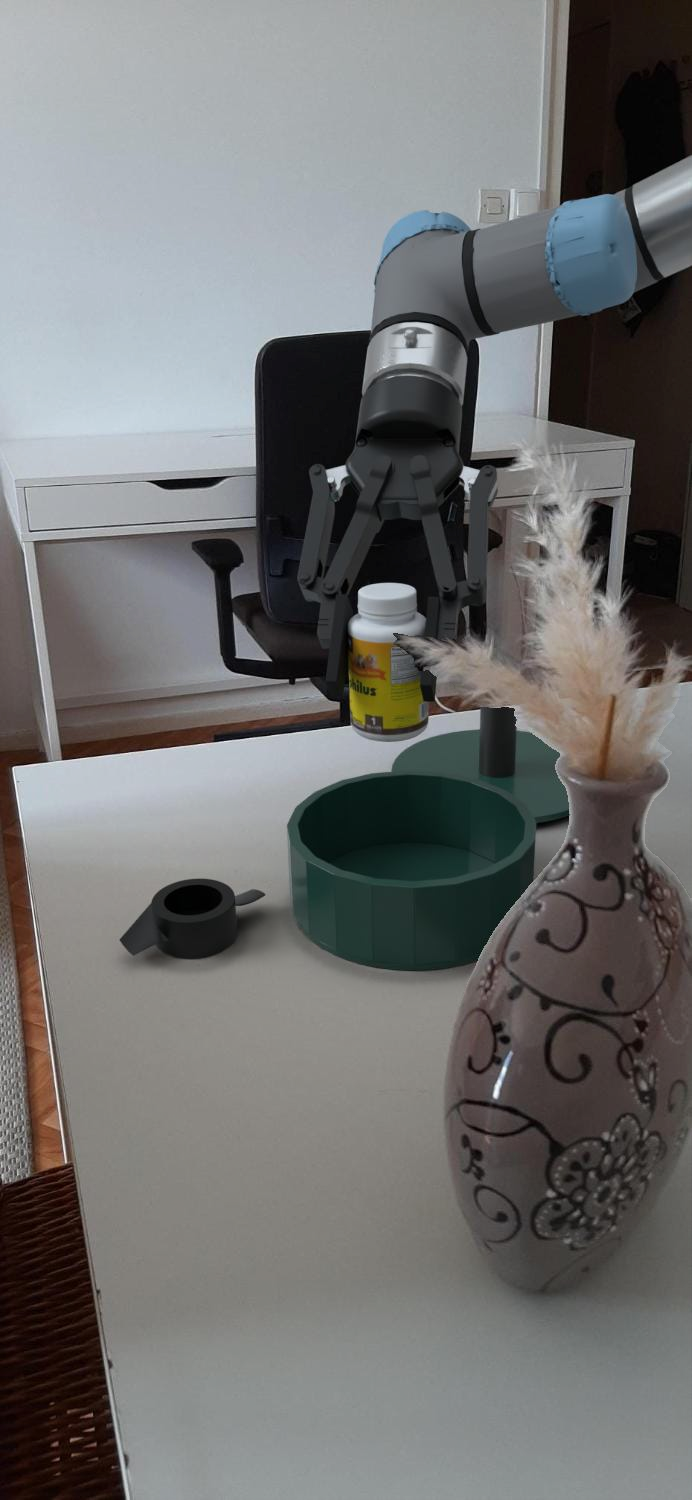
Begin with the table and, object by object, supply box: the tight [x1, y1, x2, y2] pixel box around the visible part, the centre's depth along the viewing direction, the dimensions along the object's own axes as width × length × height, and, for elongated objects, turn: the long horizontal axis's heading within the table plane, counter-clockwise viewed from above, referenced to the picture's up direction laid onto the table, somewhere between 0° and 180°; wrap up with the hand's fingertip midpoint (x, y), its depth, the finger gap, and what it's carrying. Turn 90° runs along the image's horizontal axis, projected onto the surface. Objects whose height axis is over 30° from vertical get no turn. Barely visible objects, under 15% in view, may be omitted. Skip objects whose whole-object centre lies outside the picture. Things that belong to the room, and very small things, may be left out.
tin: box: [286, 770, 537, 971], centre depth 83 cm, size 18×18×6 cm
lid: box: [390, 707, 570, 824], centre depth 101 cm, size 19×19×10 cm
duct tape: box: [119, 878, 267, 960], centre depth 81 cm, size 8×10×3 cm
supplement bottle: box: [348, 582, 430, 743], centre depth 79 cm, size 6×6×10 cm
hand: (380, 691), depth 76 cm, fingers closed on supplement bottle, 6 cm apart
